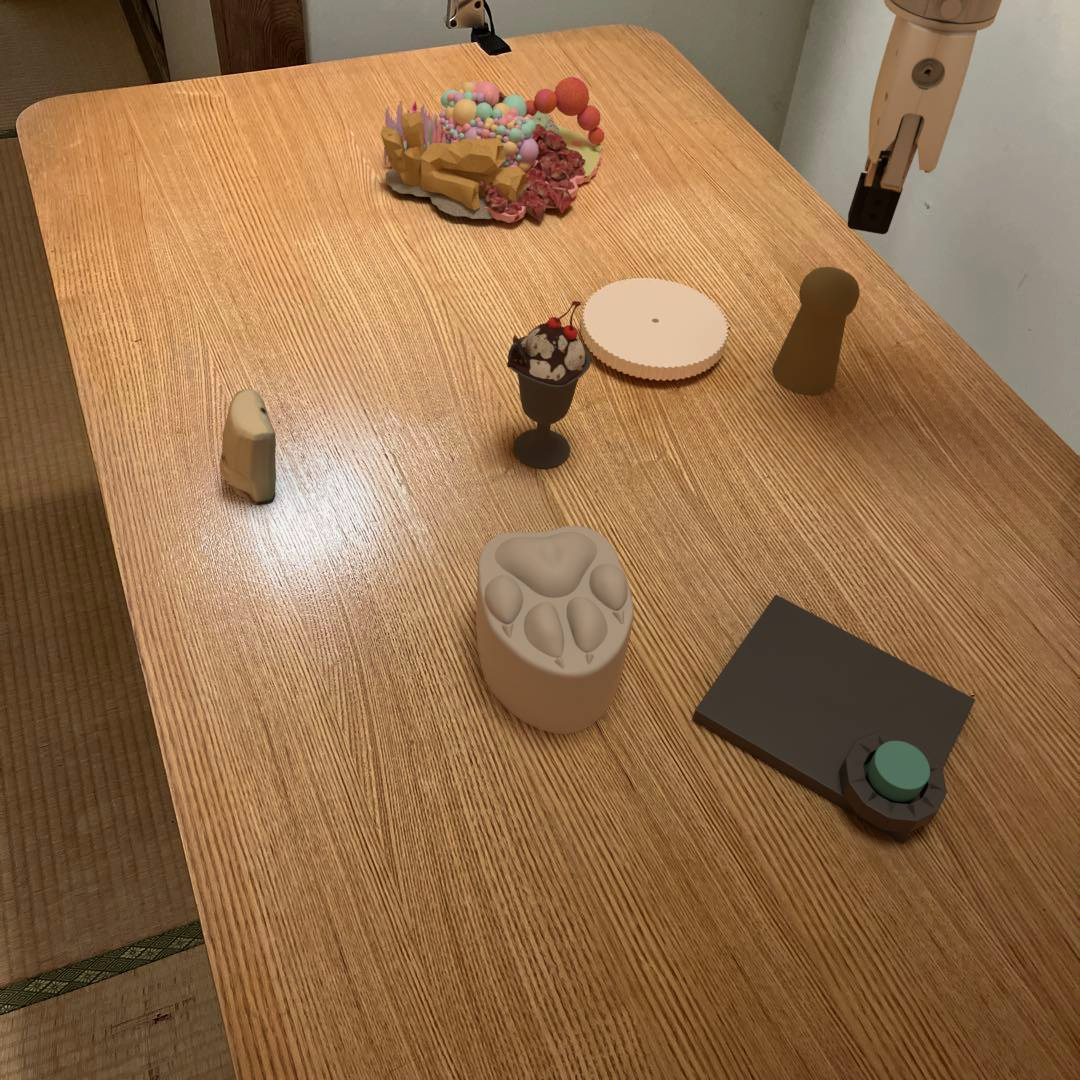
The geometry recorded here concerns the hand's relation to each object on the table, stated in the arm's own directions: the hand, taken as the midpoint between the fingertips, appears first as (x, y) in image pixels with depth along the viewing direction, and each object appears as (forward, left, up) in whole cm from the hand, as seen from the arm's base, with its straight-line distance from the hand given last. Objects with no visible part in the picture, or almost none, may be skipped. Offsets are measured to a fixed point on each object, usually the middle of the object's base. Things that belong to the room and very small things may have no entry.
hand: (866, 225), depth 86 cm
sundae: (+16, +20, -19) cm, 32 cm away
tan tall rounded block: (+32, +38, -19) cm, 54 cm away
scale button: (-21, +34, -16) cm, 44 cm away
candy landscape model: (+47, -15, -19) cm, 53 cm away
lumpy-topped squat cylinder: (+3, +38, -19) cm, 43 cm away
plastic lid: (+16, +1, -19) cm, 25 cm away
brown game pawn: (+2, -4, -19) cm, 19 cm away
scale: (-16, +30, -19) cm, 39 cm away
